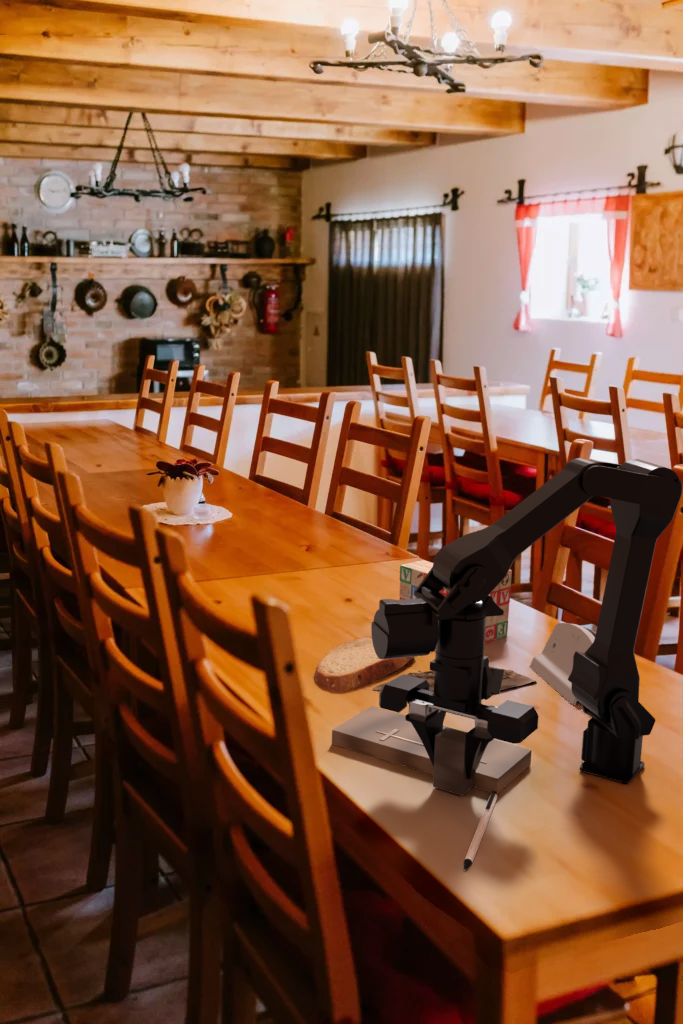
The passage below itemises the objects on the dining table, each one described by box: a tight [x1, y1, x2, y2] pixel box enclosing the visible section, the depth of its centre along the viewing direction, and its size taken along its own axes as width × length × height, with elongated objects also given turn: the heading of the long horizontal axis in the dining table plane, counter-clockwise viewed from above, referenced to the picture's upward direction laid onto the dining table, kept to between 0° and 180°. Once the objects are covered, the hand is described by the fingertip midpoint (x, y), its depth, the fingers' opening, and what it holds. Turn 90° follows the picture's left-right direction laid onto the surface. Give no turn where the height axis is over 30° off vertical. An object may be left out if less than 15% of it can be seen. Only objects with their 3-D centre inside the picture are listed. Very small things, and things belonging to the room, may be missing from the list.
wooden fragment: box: [372, 668, 538, 692], centre depth 165 cm, size 26×11×1 cm, turn 98°
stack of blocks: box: [399, 559, 513, 643], centre depth 193 cm, size 21×6×12 cm, turn 41°
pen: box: [463, 791, 499, 872], centre depth 122 cm, size 1×19×1 cm, turn 163°
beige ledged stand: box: [529, 622, 596, 706], centre depth 166 cm, size 17×5×10 cm, turn 13°
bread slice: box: [314, 635, 416, 692], centre depth 171 cm, size 18×18×4 cm
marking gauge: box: [432, 726, 474, 796], centre depth 132 cm, size 4×7×7 cm, turn 147°
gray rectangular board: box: [331, 706, 532, 795], centre depth 141 cm, size 24×10×2 cm, turn 57°
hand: (453, 773), depth 131 cm, fingers closed on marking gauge, 4 cm apart
